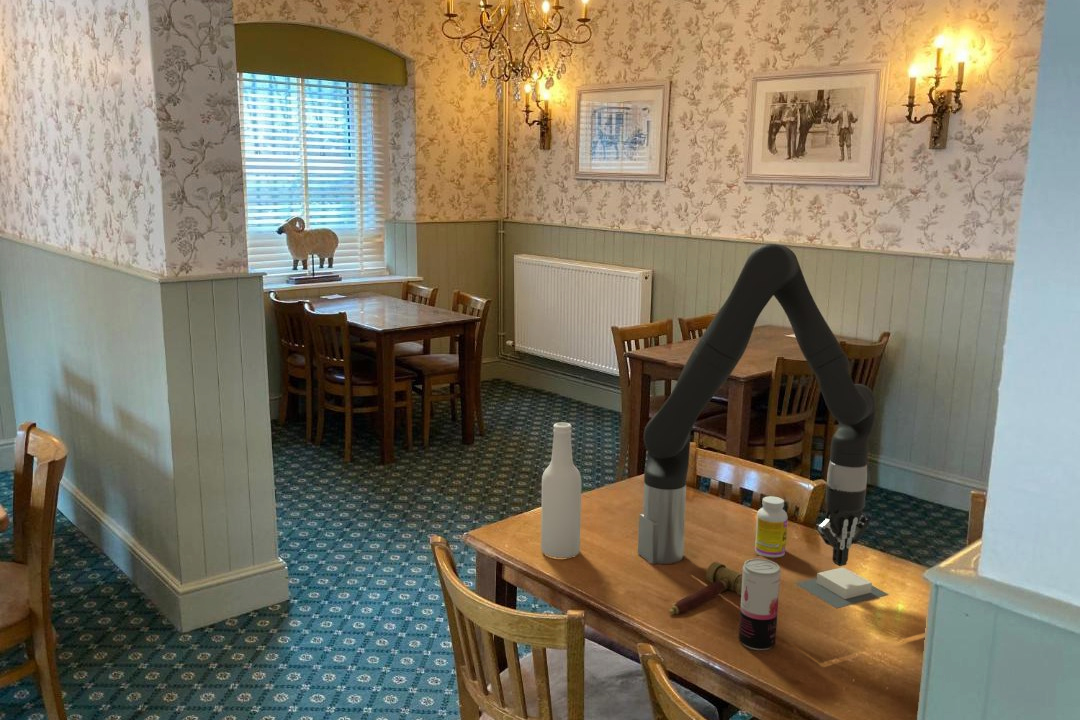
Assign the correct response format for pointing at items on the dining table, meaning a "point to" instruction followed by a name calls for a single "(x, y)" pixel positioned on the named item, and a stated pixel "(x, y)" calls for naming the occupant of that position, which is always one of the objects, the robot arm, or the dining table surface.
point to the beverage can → (759, 604)
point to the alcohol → (561, 499)
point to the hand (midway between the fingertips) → (839, 564)
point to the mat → (834, 598)
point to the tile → (844, 583)
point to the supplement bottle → (771, 528)
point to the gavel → (711, 587)
